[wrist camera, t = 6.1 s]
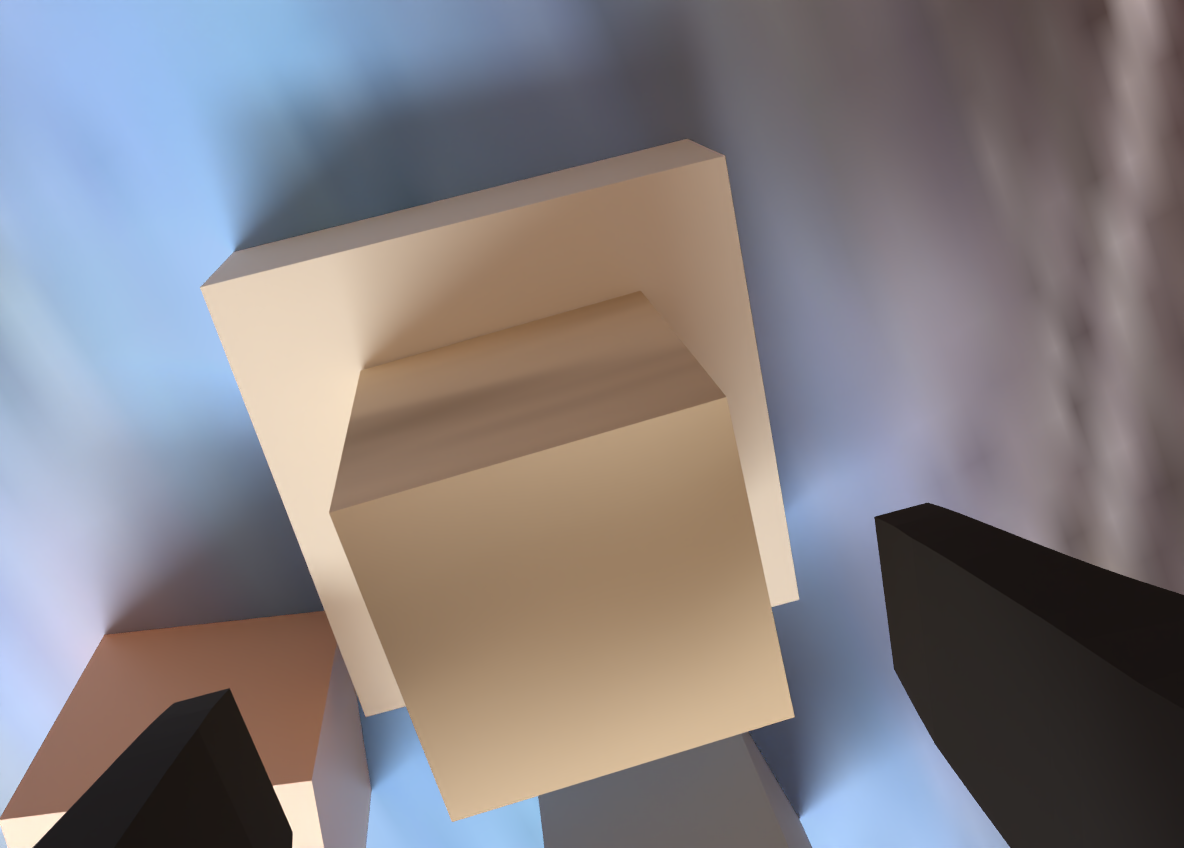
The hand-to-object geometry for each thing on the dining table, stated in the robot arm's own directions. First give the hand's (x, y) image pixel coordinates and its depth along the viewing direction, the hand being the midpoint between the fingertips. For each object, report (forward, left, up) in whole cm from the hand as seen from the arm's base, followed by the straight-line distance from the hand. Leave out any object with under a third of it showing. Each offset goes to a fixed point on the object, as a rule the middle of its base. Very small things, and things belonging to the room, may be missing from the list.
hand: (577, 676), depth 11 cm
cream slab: (0, 0, -9) cm, 9 cm away
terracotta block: (-5, +7, -9) cm, 12 cm away
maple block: (0, 0, -6) cm, 6 cm away
